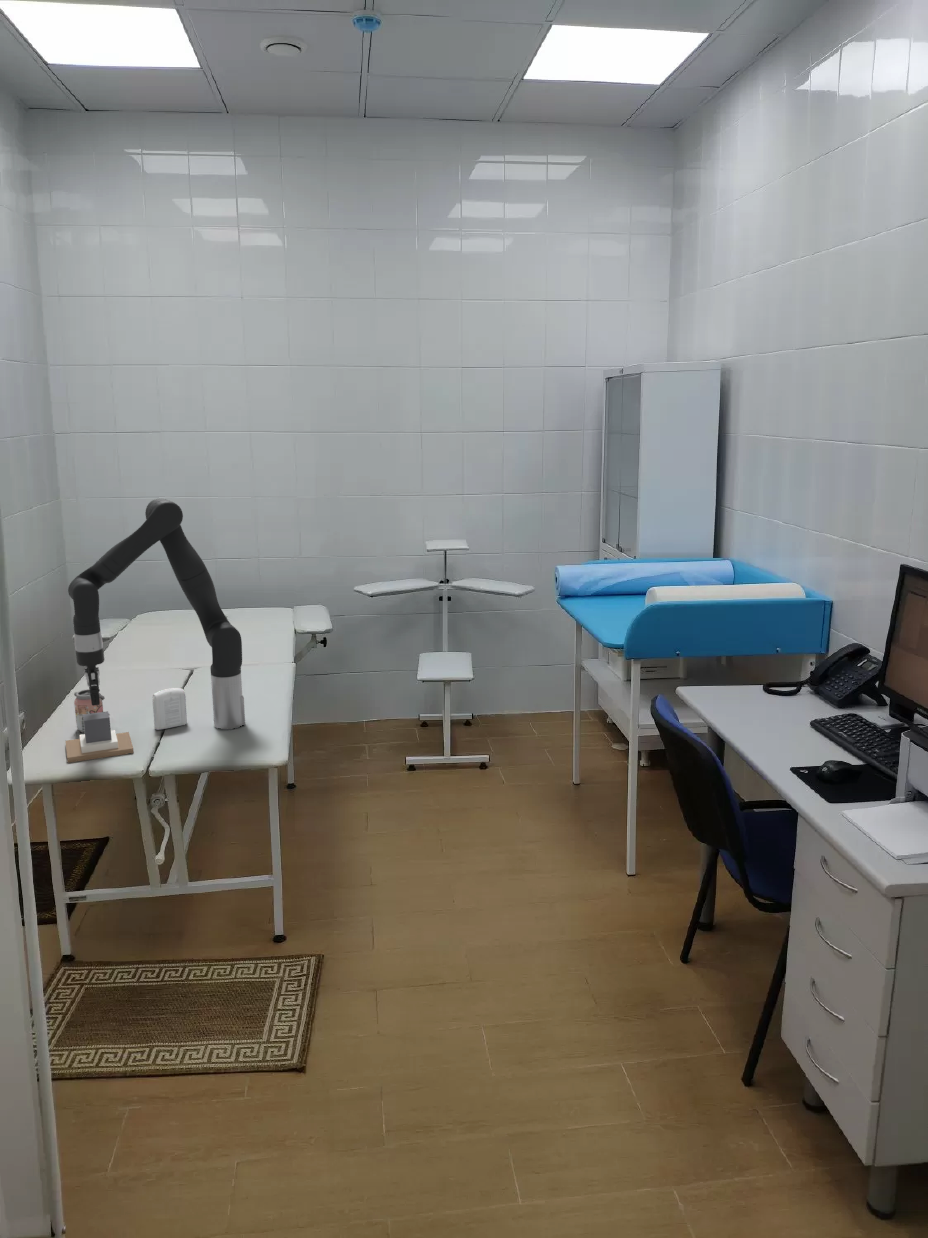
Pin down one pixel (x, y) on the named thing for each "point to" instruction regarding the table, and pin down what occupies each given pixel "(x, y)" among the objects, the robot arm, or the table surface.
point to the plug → (97, 727)
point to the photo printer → (169, 708)
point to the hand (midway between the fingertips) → (94, 700)
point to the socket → (98, 747)
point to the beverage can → (85, 707)
